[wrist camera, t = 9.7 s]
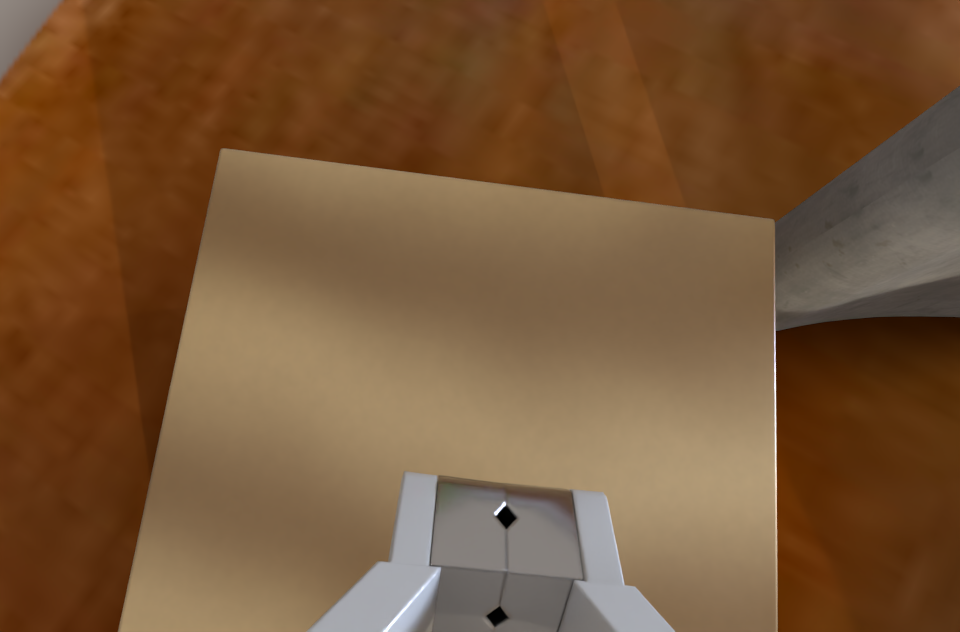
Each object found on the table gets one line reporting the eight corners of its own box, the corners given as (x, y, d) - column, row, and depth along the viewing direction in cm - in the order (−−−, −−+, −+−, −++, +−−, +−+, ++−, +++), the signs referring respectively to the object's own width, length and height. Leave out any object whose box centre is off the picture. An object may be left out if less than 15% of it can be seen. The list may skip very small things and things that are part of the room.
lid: (229, 162, 15) (219, 145, 15) (759, 230, 16) (776, 218, 15) (48, 1034, 12) (21, 1073, 11) (760, 1072, 12) (782, 1112, 11)
